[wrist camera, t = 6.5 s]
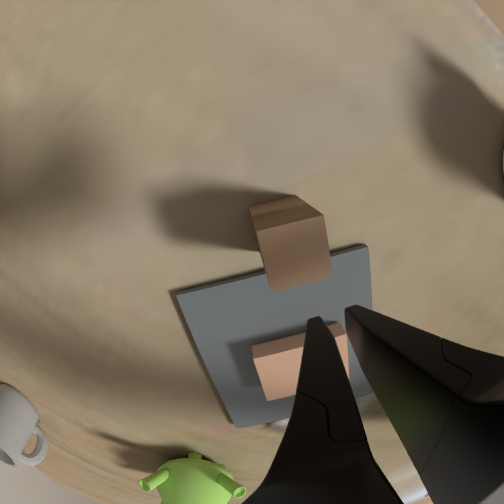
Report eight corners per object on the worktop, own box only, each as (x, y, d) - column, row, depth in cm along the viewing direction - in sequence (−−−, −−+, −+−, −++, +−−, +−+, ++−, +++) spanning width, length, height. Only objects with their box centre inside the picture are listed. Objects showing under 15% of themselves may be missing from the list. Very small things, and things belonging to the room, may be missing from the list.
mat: (369, 389, 26) (371, 393, 25) (236, 424, 26) (236, 428, 25) (364, 244, 20) (368, 246, 20) (177, 291, 21) (175, 295, 20)
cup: (-1, 373, 23) (-33, 419, 15) (61, 420, 26) (38, 473, 17) (-3, 397, 25) (-28, 437, 16) (52, 437, 27) (34, 483, 19)
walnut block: (304, 240, 20) (333, 275, 14) (259, 252, 20) (271, 292, 14) (295, 195, 19) (323, 214, 13) (248, 206, 19) (256, 231, 13)
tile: (349, 378, 22) (267, 401, 22) (342, 365, 23) (265, 386, 24) (346, 333, 20) (253, 358, 20) (338, 320, 22) (251, 344, 22)
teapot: (156, 476, 30) (150, 524, 22) (145, 436, 27) (133, 497, 19) (235, 483, 31) (237, 532, 23) (243, 446, 28) (248, 508, 20)
